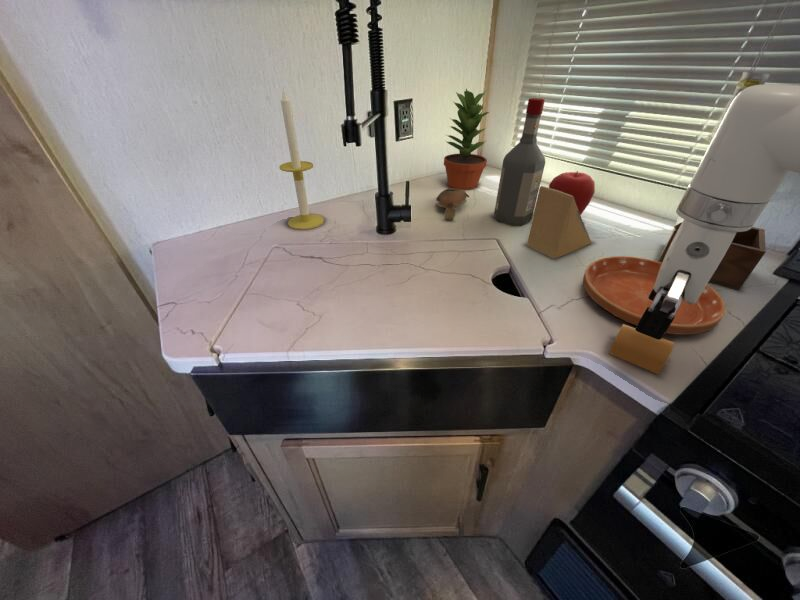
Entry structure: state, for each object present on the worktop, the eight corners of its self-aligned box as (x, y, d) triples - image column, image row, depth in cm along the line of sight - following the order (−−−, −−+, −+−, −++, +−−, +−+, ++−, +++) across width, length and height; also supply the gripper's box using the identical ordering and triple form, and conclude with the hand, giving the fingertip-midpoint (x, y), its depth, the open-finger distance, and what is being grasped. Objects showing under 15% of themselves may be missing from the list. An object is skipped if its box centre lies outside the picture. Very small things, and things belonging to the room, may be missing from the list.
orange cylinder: (662, 358, 56) (676, 337, 53) (658, 374, 53) (671, 353, 50) (615, 339, 59) (625, 319, 57) (608, 353, 57) (618, 332, 54)
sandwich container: (593, 242, 88) (615, 183, 79) (554, 259, 81) (573, 196, 72) (564, 230, 94) (581, 173, 85) (525, 245, 87) (540, 185, 78)
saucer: (749, 334, 60) (762, 317, 58) (629, 348, 58) (638, 331, 55) (652, 266, 79) (660, 252, 76) (558, 275, 76) (563, 260, 74)
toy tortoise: (433, 222, 100) (468, 218, 97) (430, 205, 97) (466, 200, 95) (440, 199, 116) (471, 195, 113) (438, 183, 113) (470, 179, 110)
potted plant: (484, 179, 129) (498, 84, 111) (481, 193, 117) (495, 89, 99) (445, 176, 132) (451, 83, 114) (437, 189, 120) (444, 88, 102)
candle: (284, 229, 94) (254, 90, 75) (292, 215, 102) (267, 85, 83) (321, 229, 94) (300, 89, 75) (326, 214, 102) (309, 85, 83)
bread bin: (740, 265, 79) (764, 229, 74) (738, 290, 71) (766, 251, 66) (664, 246, 87) (681, 212, 81) (655, 266, 79) (674, 230, 73)
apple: (562, 207, 107) (575, 162, 99) (594, 221, 99) (611, 173, 91) (532, 214, 103) (543, 167, 95) (563, 229, 94) (578, 179, 86)
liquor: (534, 218, 100) (564, 99, 82) (518, 228, 95) (546, 102, 77) (506, 210, 105) (528, 95, 87) (489, 218, 100) (509, 99, 82)
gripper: (760, 242, 34) (674, 362, 45) (758, 194, 45) (690, 300, 55) (671, 221, 38) (611, 336, 48) (689, 182, 49) (637, 283, 59)
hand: (653, 317), depth 52 cm, fingers open, 9 cm apart
